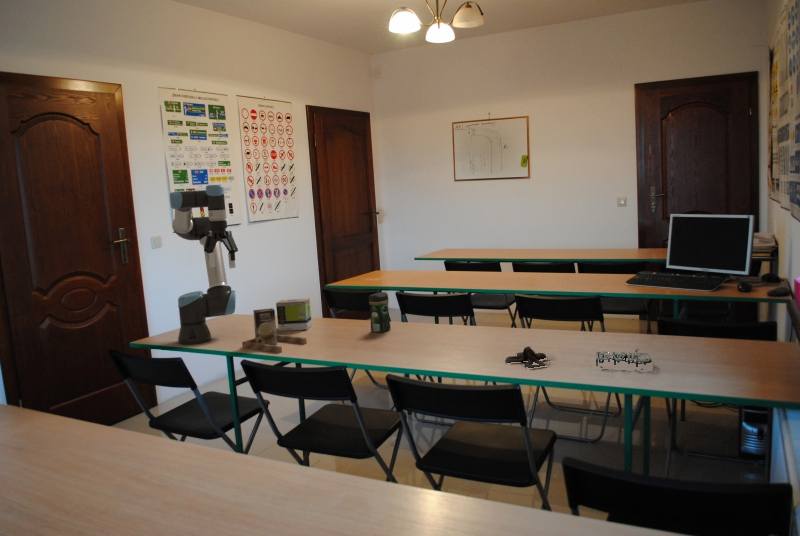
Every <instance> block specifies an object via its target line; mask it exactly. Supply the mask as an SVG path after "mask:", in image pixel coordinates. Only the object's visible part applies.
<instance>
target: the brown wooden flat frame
mask: <svg viewBox="0 0 800 536" xmlns="http://www.w3.org/2000/svg"><path fill="white" fill-rule="evenodd" d="M276 335H277V342H279V341H280V342H286V343H293V344H300V345H301V344H302V345H306V344H307V343H308V342H307V337H300V336H294V335H293V336H292V335H287V334H286V335H284V334H277V333H276ZM241 345H242V348H243V347H245V348H244V349H249V348H252V349H251V350H256V349H257V351H264V352H271V353H277V354H281V353H283V349H282V346H278V345H267V344H260V343H256V340H255V337H254V338H251V339H247V340H244V341H241Z"/></svg>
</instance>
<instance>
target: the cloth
mask: <svg viewBox="0 0 800 536" xmlns="http://www.w3.org/2000/svg"><path fill="white" fill-rule="evenodd" d="M516 354H517V356H515V355H514V356H513V355H512V356H507V357H506V358H505V359H506V360H505V364H506V363H511V362H523V361H528V362H526V363H523V364H524V365H525V366H526V367H528V368H534V367H540V366H545V365H547V363H544V362H541V361H539V360H540V359H544V358H546V357H547V356H546V355H547V354H546V353H544V352H538V353H537V352H535V350H533V349H532V347H531V346H526V347H524V348H523V351H521V352H517V353H516ZM533 362H535V363H537V364H539V365H532V364H533ZM525 366H524V367H525Z"/></svg>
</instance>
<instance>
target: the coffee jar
mask: <svg viewBox="0 0 800 536" xmlns="http://www.w3.org/2000/svg"><path fill="white" fill-rule="evenodd" d="M368 304H369V307H370V331H371V332H373V333H377V334H378V333H384V332H387V331H389V330H391V320H390V315H389V314H390V312H389V295H388V293H387V292H385V291H380V292H376V293H373V294H369V296H368Z"/></svg>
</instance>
